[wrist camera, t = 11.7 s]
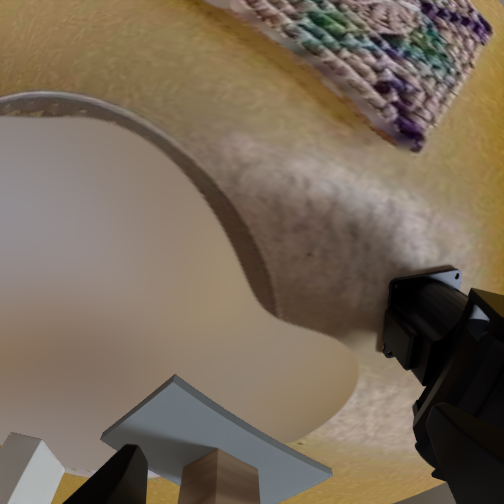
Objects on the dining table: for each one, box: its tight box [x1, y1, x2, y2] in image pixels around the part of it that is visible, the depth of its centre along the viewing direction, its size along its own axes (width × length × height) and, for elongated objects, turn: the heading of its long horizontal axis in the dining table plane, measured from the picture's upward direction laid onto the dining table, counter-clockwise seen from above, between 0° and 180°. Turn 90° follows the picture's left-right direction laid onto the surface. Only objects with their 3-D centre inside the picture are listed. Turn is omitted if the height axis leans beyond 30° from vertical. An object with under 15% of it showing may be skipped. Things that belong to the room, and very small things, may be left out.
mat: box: [100, 374, 333, 504], centre depth 25 cm, size 12×20×1 cm, turn 45°
